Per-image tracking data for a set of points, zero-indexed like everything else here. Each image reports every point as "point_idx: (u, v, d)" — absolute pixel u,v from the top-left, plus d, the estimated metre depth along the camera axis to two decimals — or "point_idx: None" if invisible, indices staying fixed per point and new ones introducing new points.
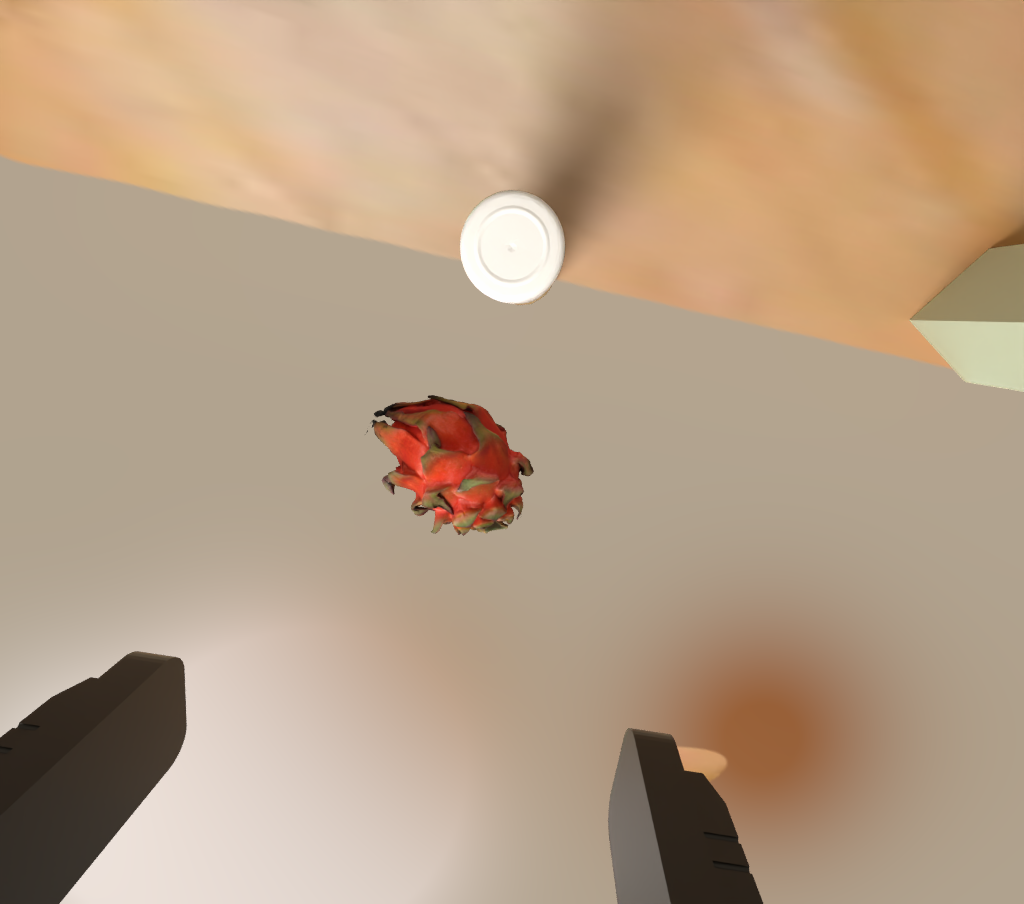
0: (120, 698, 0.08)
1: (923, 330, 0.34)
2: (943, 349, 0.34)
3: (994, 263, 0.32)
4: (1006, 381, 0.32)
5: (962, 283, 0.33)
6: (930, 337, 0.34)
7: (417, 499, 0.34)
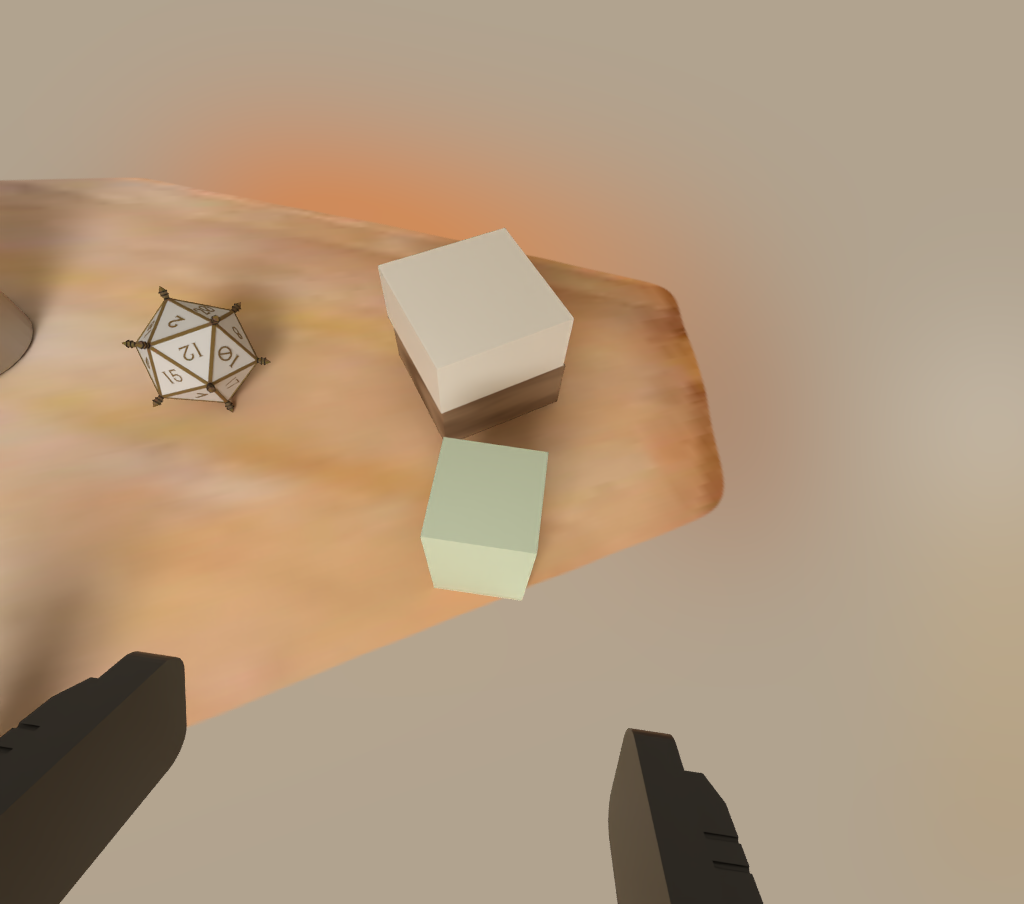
0: (120, 698, 0.08)
1: (447, 587, 0.35)
2: (473, 590, 0.35)
3: None
4: (514, 584, 0.32)
5: None
6: (456, 588, 0.35)
7: None
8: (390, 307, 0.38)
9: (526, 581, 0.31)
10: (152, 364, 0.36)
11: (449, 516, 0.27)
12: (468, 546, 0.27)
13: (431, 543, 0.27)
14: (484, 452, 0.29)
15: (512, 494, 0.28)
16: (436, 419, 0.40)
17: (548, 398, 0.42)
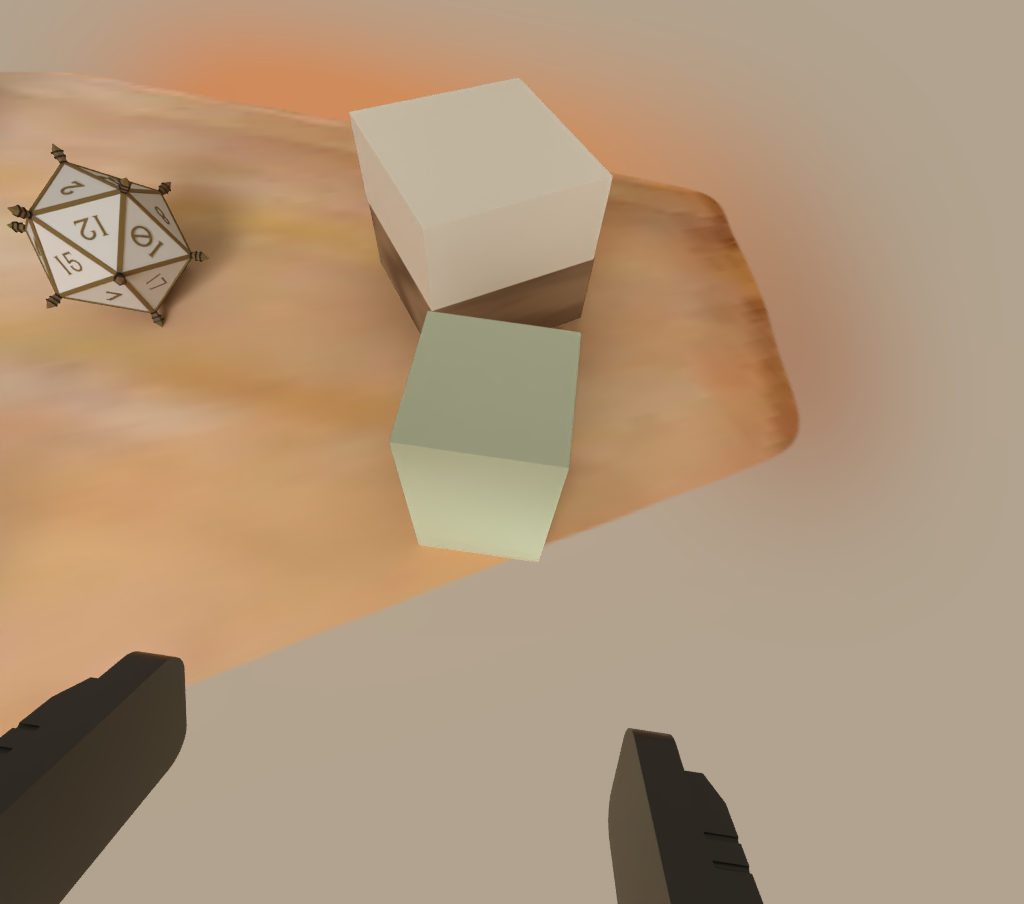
0: (120, 698, 0.08)
1: (437, 544, 0.25)
2: (472, 547, 0.25)
3: None
4: (529, 532, 0.22)
5: None
6: (449, 545, 0.25)
7: None
8: (367, 176, 0.29)
9: (547, 526, 0.22)
10: (39, 244, 0.26)
11: (434, 414, 0.18)
12: (463, 459, 0.18)
13: (407, 456, 0.18)
14: (487, 331, 0.20)
15: (529, 385, 0.19)
16: None
17: (570, 310, 0.33)
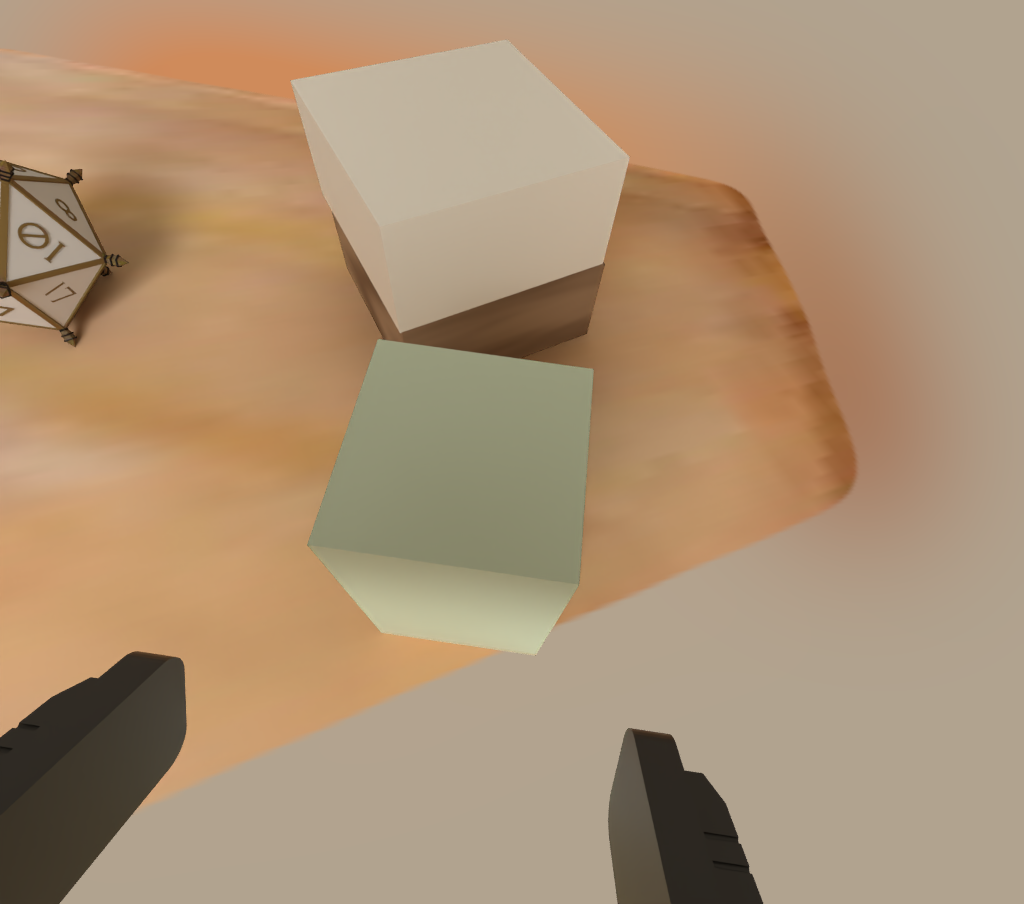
0: (120, 698, 0.08)
1: (404, 633, 0.20)
2: (450, 639, 0.19)
3: None
4: (523, 633, 0.17)
5: None
6: (419, 635, 0.19)
7: None
8: (318, 164, 0.23)
9: (547, 630, 0.16)
10: None
11: (379, 498, 0.12)
12: (421, 567, 0.12)
13: (338, 560, 0.12)
14: (461, 368, 0.14)
15: (520, 450, 0.13)
16: None
17: (574, 326, 0.27)
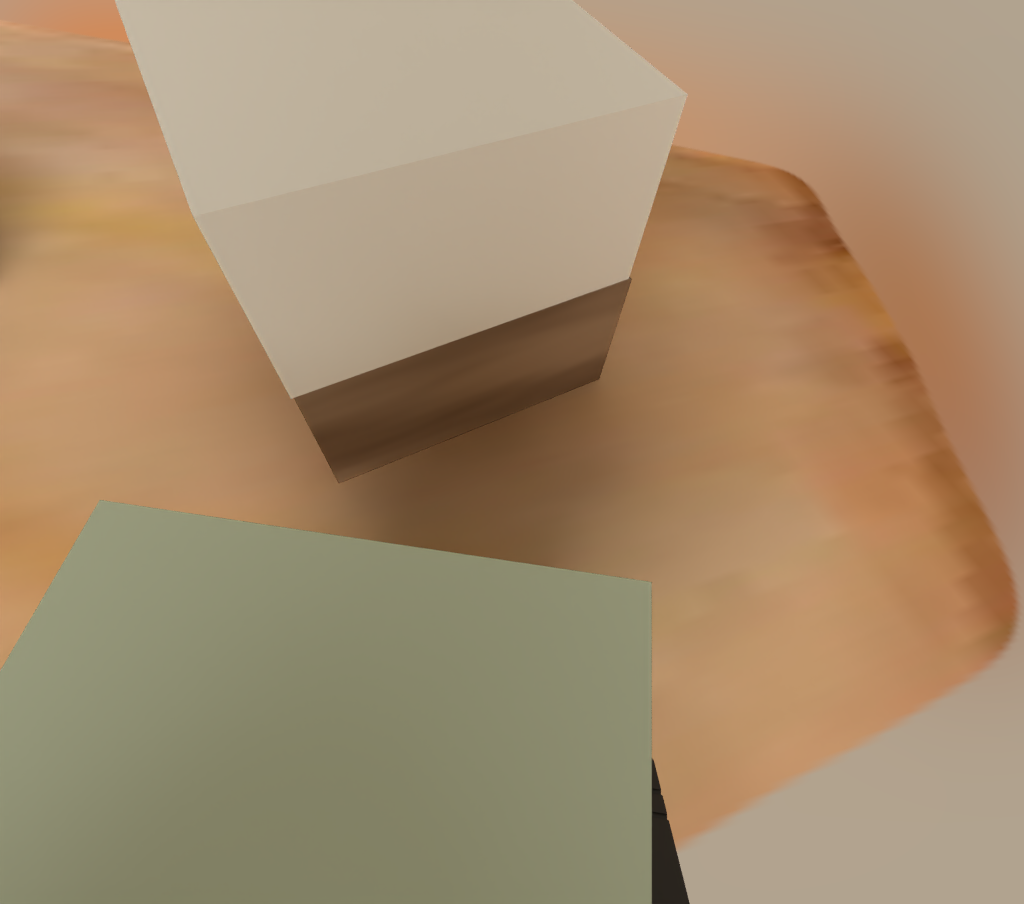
0: None
1: None
2: None
3: None
4: None
5: None
6: None
7: None
8: None
9: None
10: None
11: None
12: None
13: None
14: (301, 590, 0.05)
15: None
16: None
17: (582, 369, 0.18)
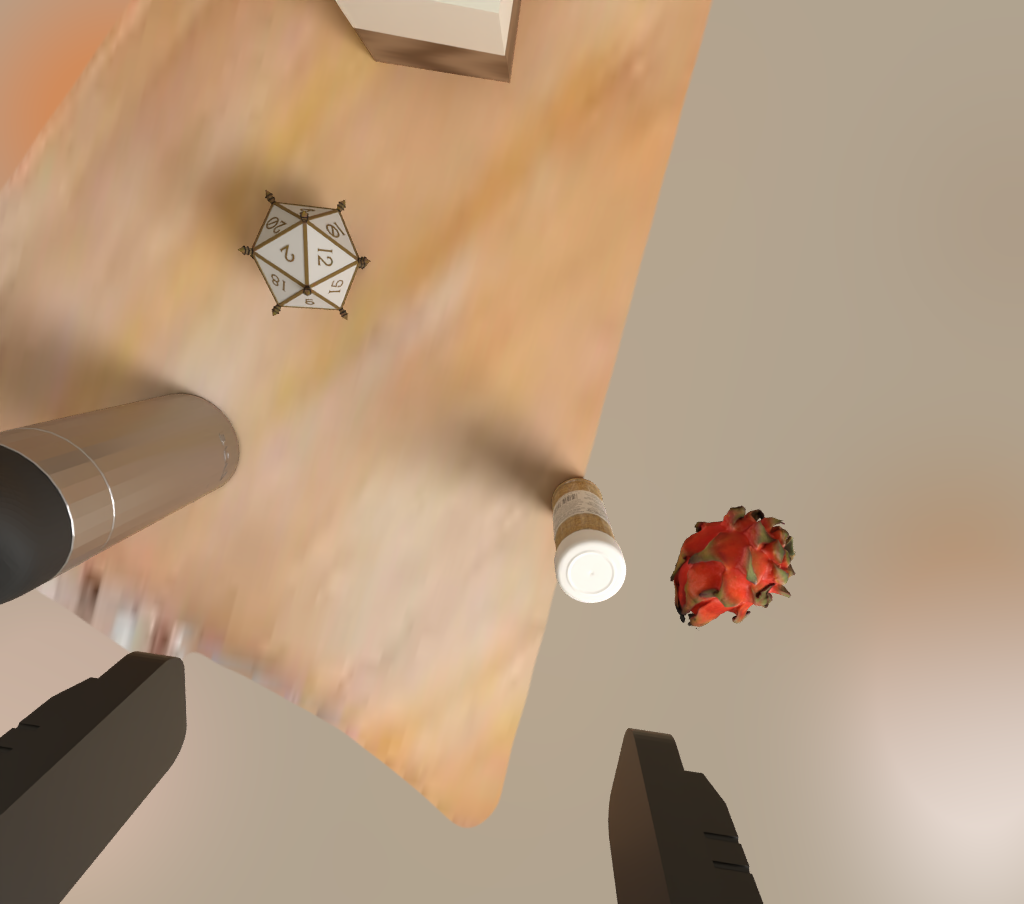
0: (120, 698, 0.08)
1: None
2: None
3: None
4: None
5: None
6: None
7: None
8: (361, 12, 0.32)
9: None
10: (320, 296, 0.37)
11: None
12: None
13: None
14: None
15: None
16: (485, 71, 0.37)
17: None
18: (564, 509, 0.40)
